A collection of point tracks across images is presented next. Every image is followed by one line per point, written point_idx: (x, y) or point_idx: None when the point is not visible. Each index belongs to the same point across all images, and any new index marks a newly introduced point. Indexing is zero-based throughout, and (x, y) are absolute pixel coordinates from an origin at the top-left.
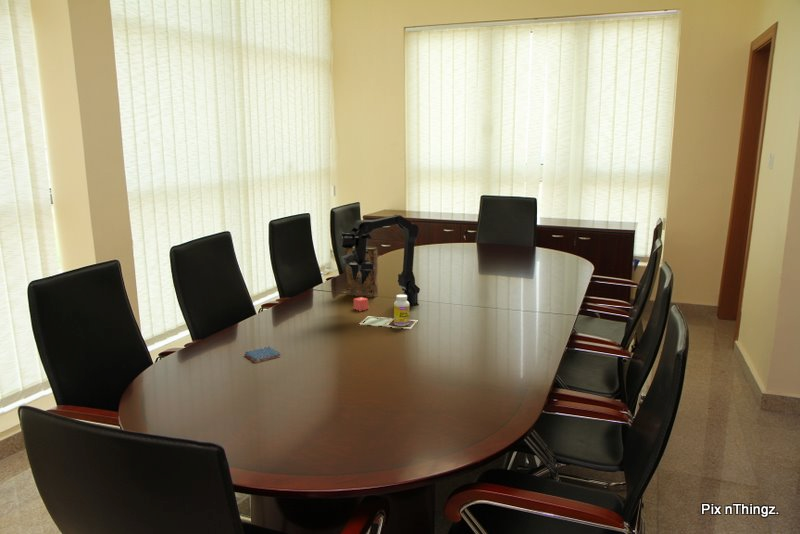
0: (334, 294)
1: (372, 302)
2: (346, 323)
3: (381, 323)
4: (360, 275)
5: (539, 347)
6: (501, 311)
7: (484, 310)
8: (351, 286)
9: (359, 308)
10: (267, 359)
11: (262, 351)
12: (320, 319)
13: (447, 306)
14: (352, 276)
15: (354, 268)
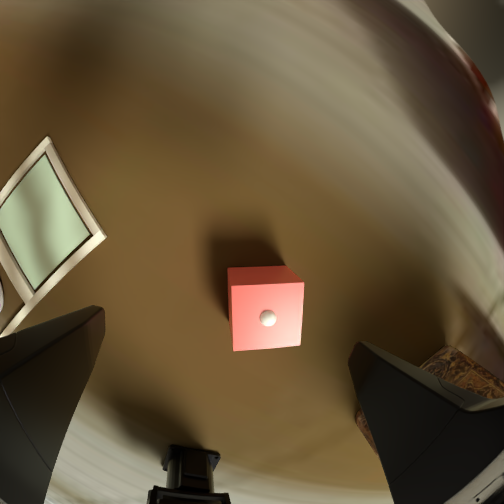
0: (471, 310)
1: (312, 387)
2: (99, 97)
3: (10, 228)
4: None
5: None
6: (47, 490)
7: (59, 487)
8: (451, 373)
9: (231, 271)
10: None
11: None
12: (238, 37)
13: (114, 486)
14: (387, 355)
15: (435, 448)
